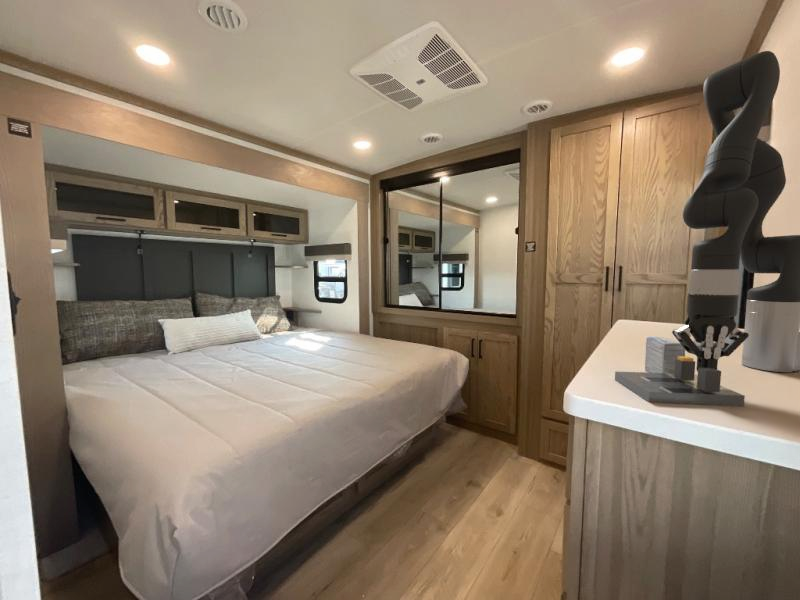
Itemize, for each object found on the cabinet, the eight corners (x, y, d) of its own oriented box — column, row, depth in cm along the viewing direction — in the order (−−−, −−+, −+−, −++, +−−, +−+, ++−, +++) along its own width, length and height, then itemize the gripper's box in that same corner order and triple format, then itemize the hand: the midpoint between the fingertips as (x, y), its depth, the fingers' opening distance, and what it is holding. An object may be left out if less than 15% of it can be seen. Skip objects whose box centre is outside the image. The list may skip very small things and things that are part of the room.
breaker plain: (711, 388, 64) (712, 368, 63) (719, 392, 62) (721, 371, 61) (696, 387, 64) (698, 367, 64) (704, 391, 62) (706, 370, 62)
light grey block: (684, 381, 75) (686, 343, 74) (662, 380, 76) (664, 343, 75) (664, 371, 83) (666, 337, 82) (644, 370, 83) (645, 336, 83)
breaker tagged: (687, 377, 70) (688, 356, 70) (694, 380, 68) (695, 358, 68) (674, 377, 70) (675, 355, 70) (680, 380, 69) (682, 358, 68)
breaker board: (692, 382, 74) (693, 373, 74) (743, 406, 61) (744, 395, 61) (614, 379, 76) (615, 371, 76) (648, 402, 63) (649, 391, 63)
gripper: (733, 291, 70) (726, 371, 71) (664, 290, 72) (659, 369, 73) (767, 293, 62) (759, 382, 64) (689, 293, 64) (683, 380, 66)
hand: (706, 375), depth 68 cm, fingers closed
